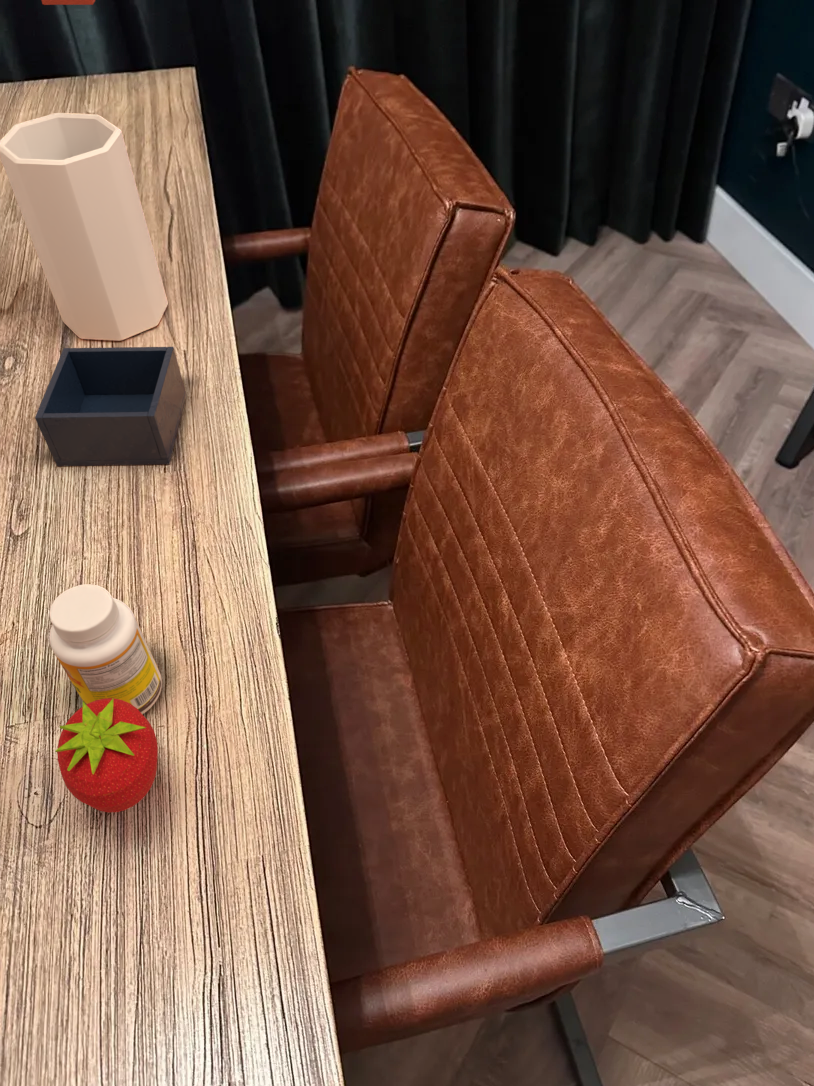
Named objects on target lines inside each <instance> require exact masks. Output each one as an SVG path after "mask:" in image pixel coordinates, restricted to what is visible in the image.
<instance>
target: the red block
mask: <svg viewBox="0 0 814 1086" xmlns="http://www.w3.org/2000/svg"><path fill="white" fill-rule="evenodd" d="M96 1H97V0H41V4H42V5H44V6H50V5H51V6H56V5H57V6H61V5H64V6H72V5H73V6H78V5H79V6H81V5H82V6H84V5H85V6H87V5H88V6H89V5H90V6H91V5H92V6H93V5H94V4H95V2H96Z"/></svg>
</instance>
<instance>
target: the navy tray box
mask: <svg viewBox="0 0 814 1086" xmlns="http://www.w3.org/2000/svg"><path fill="white" fill-rule="evenodd" d="M60 353H61V354H60V356H59V358H58V361H57V363H56V366H55V368H54V370H53V373H52V375H51V377H50V380H49V382H48V385H47V387H46V389H45V392H44V395H43V396H42V399H41V402H40V404H39V407H38V409H37V411H36V414H35V416H34V419H35V421H36V423H37V425H38V428H39V430H40V432H41V435H42V437H43V439H44V441H45V443H46V446H47V448H48V450H49V452H50V454H51V457H52V459H53V461H54V463H55V465H56V467H89V466H90V467H93V466H95V467H97V466H98V467H99V466H149V465H150V466H151V465H152V466H153V465H156V464H157V465H170V464H171V461H172V456H173V453H174V452H173V451H174V447H175V444H176V439H177V435H178V431H179V428H180V424H181V420H182V416H183V411H184V407H185V404H186V399H187V391H186V387H185V384H184V380H183V376H182V373H181V369H180V365H179V362H178V359H177V355H176V351H175V348H174V346H131V347H130V346H124V347H123V346H122V347H121V346H118V347H117V346H116V347H115V346H114V347H63V349H62V351H61V352H60ZM157 465H156V466H157Z"/></svg>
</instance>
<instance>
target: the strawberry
mask: <svg viewBox="0 0 814 1086" xmlns="http://www.w3.org/2000/svg"><path fill="white" fill-rule="evenodd" d="M59 729H62V730H61V733H60V736H59V739H58V741H57V742H58V743H57V748H56V749H55V750H54V752H55V753H57V754H56V755H57V763H58V768H59V771H60V775H61V778H62V781H63V783H64V785H65V787H66V788H67V790H68V791H69V792H70V793H71V795H72V796H73V797H74V798H75V799H76V800H78V801H79V802H80V803H83V804H85V805H87V806H89V807H91V808H93V809H95V810H97V811H99V812H103V813H119V812H123V811H127V810H129V809H131V808H133V807H134V806H136V805H138V804H139V803H140V802H141V801H142V800H143V799H144V798H145V797H146V796H147V794H148V793H149V791H150V790H151V788H152V787H153V785H154V782H155V779H156V775H157V771H158V752H159V751H158V750H159V747H158V740H157V736H156V732H155V730H154V728H153V726H152V724H151V723H150V721H149V719H147V718H146V716H145V715H144V713H143V714H142V713H141V712H140V711H139V710H138V709H137V708H136V707H134V706H133V705H131V704H130V703H128V702H126V701H123V700H120V699H115V698H104V699H99V700H95V701H93V702H90V703H88V704H85V703H84V702H83V701H82V706H81V707H80V708H79V709H78V710H76V711H75V712H74V713H73V714H72V715H71V716H70V718H69V719H68V720H67V721H66V723H65V725H64V724H63V725H59Z"/></svg>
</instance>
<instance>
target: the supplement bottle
mask: <svg viewBox="0 0 814 1086" xmlns="http://www.w3.org/2000/svg"><path fill="white" fill-rule="evenodd" d="M48 613H49V620H50V622H51V627H50V630H49V637H48V639H49V646H50V648H51V650H52V652H53V654H54V656H55V658H56V659H57V661H58V663H59V664H60V666H61V667H62V669H63V670H64V672H65V674H66V675H67V677H68V679H69V680H70V683H71V684H72V686H73V687H74V689H75V690H76V692H77V694H78V695H79V697H80V699H81V700H82V703H83V702H84V703H85V704H88V703H90V702H93V701H95V700H99V699H104V698H115V699H120V700H123V701H126V702H128V703H130V704H131V705H133V706H134V707H136V708H137V709H138V710H139V711H140V712H141V713H142V714H143V715H144V714H145V713H146V712H148V711H149V710H150V709H151V708H152V707H153V706H154V705H155V704H156V702H157V701H158V698H159V696H160V695H161V691H162V688H163V678H162V675H161V672H160V670H159V666H158V665H157V663H156V660H155V658H154V656H153V654H152V651H151V649H150V646H149V644H148V642H147V640H146V638H145V636H144V634H143V631H142V629H141V626H140V624H139V622H138V620H137V618H136V615H135V613H134V612H133V610H132V608H131V607H129V606H128V605H127V603H125V602H124V601H122V600H120V599H118V598H115V597H113V596H112V594H111V593H110V591H108V590H107V589H106V588H105V587H103V586H101V585H98V584H92V583H91V584H90V583H86V584H85V583H84V584H79V585H75V586H72V587H70V588H67V589H66V590H64V591H63V592H61V593H60V594H59V595H57V596H56V597H55V599H54V600H53V602H52V603H51V605H50V608H49V612H48Z"/></svg>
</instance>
